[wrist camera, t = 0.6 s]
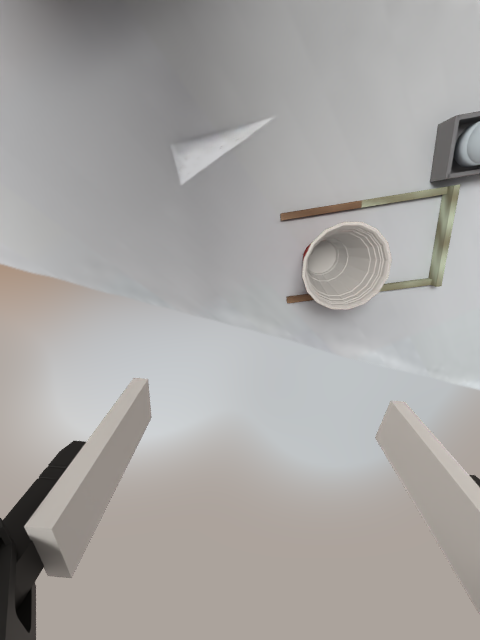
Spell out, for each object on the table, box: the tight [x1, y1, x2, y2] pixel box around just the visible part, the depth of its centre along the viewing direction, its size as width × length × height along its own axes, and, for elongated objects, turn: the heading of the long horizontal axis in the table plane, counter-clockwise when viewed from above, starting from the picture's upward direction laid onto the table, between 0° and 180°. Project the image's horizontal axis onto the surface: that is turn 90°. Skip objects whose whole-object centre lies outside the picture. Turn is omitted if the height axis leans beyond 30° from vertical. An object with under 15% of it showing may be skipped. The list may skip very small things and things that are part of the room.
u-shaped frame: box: [280, 185, 460, 303], centre depth 38 cm, size 15×25×2 cm, turn 98°
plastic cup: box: [302, 222, 392, 310], centre depth 34 cm, size 11×11×12 cm
